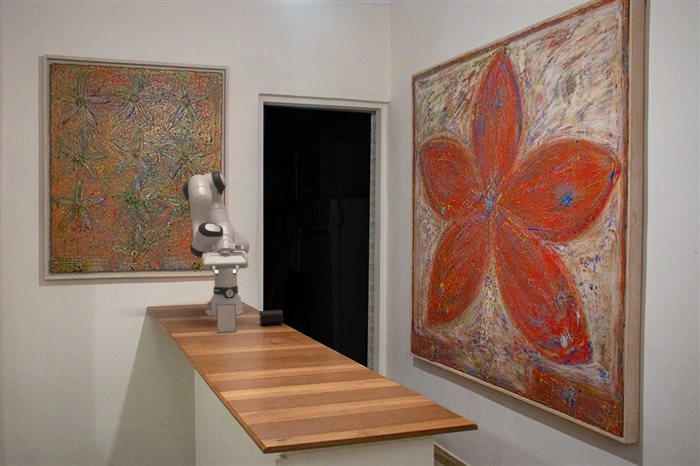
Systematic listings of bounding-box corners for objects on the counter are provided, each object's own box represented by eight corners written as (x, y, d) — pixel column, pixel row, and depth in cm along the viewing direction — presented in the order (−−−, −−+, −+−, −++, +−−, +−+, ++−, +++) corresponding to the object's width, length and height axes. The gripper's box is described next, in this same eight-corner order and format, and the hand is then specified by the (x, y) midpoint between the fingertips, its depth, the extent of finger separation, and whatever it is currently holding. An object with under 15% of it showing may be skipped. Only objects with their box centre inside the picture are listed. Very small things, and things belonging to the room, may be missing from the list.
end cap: (261, 327, 327) (261, 312, 327) (258, 324, 334) (258, 310, 333) (283, 325, 330) (283, 310, 330) (280, 323, 337) (279, 308, 337)
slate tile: (217, 332, 315) (216, 304, 315) (236, 331, 317) (235, 303, 316) (217, 332, 313) (216, 304, 313) (236, 332, 315) (235, 304, 314)
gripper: (201, 247, 333) (201, 270, 323) (247, 246, 336) (248, 269, 327) (202, 256, 337) (202, 279, 328) (247, 255, 341) (248, 278, 331)
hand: (225, 274), depth 327 cm, fingers open, 7 cm apart
